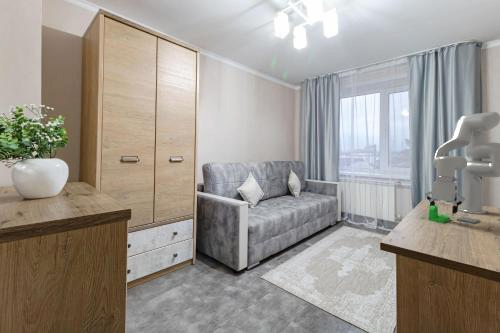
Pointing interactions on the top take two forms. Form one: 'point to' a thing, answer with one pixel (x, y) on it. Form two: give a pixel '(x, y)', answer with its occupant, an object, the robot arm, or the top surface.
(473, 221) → the dark rubber pad
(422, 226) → the top surface
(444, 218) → the mechanical part
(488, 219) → the top surface
